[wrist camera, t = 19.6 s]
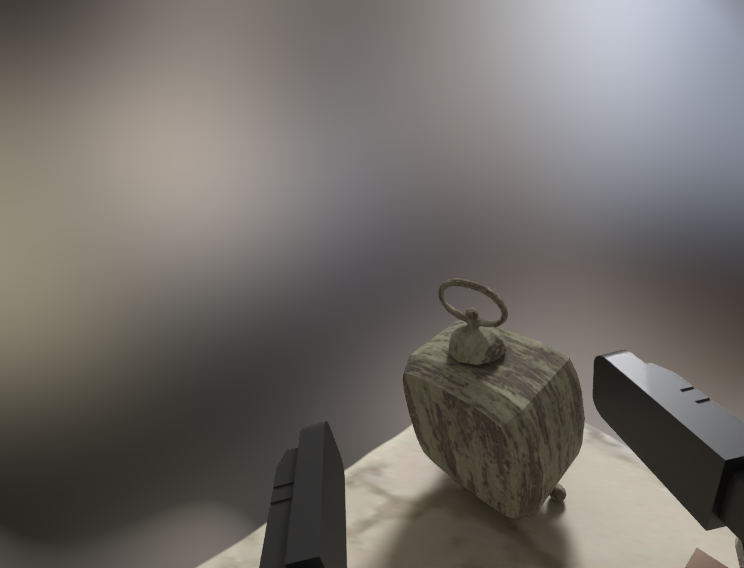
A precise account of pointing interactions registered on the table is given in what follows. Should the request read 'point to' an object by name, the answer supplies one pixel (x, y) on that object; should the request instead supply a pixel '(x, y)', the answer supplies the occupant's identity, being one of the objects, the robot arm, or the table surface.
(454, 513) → the table surface
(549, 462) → the tabletop clock
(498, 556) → the table surface
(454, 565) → the table surface
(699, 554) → the walnut board
